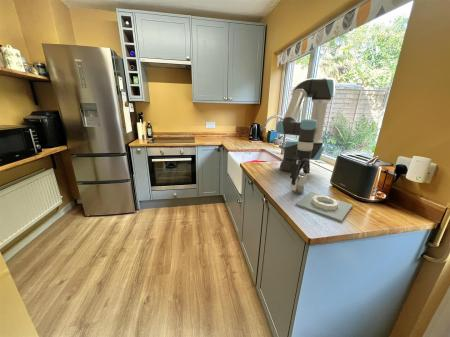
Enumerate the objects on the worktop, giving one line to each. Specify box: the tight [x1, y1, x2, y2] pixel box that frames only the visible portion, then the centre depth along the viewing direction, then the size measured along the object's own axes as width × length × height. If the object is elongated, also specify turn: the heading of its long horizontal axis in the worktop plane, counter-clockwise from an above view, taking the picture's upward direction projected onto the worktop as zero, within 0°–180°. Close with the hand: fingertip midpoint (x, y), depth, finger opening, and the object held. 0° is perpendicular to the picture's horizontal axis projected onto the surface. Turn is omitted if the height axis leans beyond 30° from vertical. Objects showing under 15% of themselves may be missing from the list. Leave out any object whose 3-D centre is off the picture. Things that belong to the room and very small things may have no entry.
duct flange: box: [295, 191, 354, 223], centre depth 92 cm, size 20×20×3 cm
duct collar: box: [291, 173, 306, 195], centre depth 105 cm, size 6×6×10 cm
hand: (298, 186), depth 106 cm, fingers open, 13 cm apart
